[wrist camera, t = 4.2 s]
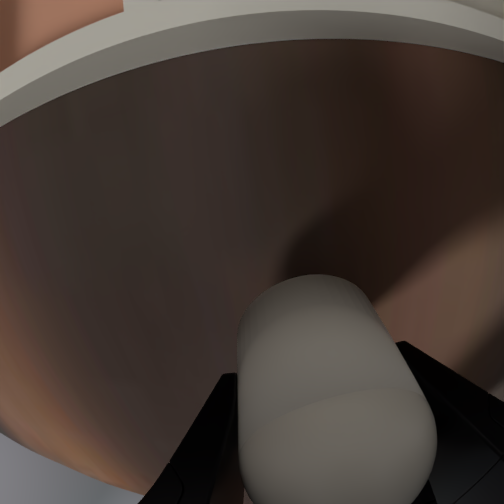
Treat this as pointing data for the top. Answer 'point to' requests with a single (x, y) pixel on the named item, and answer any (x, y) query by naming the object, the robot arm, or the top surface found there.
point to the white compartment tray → (208, 34)
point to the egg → (327, 400)
